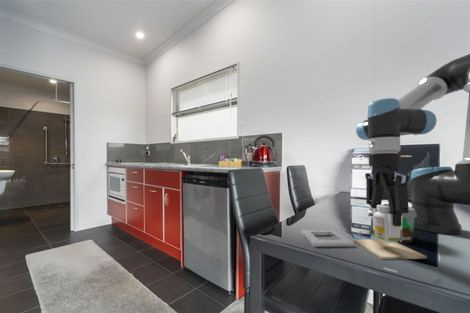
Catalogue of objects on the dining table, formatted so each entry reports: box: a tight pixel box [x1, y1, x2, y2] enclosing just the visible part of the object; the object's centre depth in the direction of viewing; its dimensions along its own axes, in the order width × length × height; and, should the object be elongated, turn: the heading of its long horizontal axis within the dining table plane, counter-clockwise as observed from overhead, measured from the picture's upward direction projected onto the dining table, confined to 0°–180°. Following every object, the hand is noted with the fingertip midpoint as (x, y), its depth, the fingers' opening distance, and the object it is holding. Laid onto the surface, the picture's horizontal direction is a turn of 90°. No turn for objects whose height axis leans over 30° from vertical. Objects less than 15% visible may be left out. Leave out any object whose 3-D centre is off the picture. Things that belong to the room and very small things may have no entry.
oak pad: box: [352, 238, 428, 260], centre depth 59 cm, size 12×12×1 cm
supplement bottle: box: [374, 204, 399, 243], centre depth 59 cm, size 5×5×10 cm
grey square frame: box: [299, 229, 356, 248], centre depth 66 cm, size 12×12×1 cm
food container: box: [383, 203, 417, 243], centre depth 68 cm, size 12×6×10 cm, turn 168°
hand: (385, 233), depth 59 cm, fingers closed on supplement bottle, 5 cm apart
